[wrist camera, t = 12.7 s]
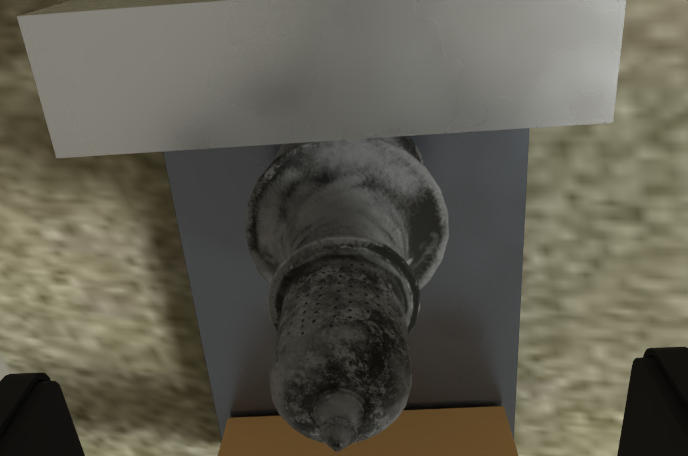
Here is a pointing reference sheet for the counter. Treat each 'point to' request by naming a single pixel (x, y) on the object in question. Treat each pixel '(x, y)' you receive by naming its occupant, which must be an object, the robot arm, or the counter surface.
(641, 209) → the counter surface
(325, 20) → the vise
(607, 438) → the counter surface
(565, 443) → the counter surface
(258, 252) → the dark grey chess piece
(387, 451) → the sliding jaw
